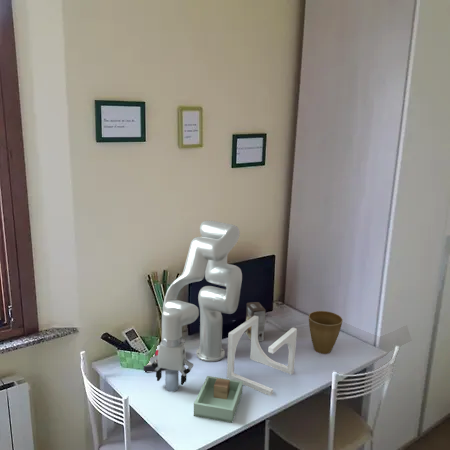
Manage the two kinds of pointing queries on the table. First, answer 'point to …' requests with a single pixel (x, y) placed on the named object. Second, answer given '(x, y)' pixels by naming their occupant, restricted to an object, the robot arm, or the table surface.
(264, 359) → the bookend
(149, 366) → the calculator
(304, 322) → the table surface
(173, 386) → the cylinder
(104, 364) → the table surface
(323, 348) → the plant pot
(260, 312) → the coffee box
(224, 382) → the cube
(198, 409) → the tote
